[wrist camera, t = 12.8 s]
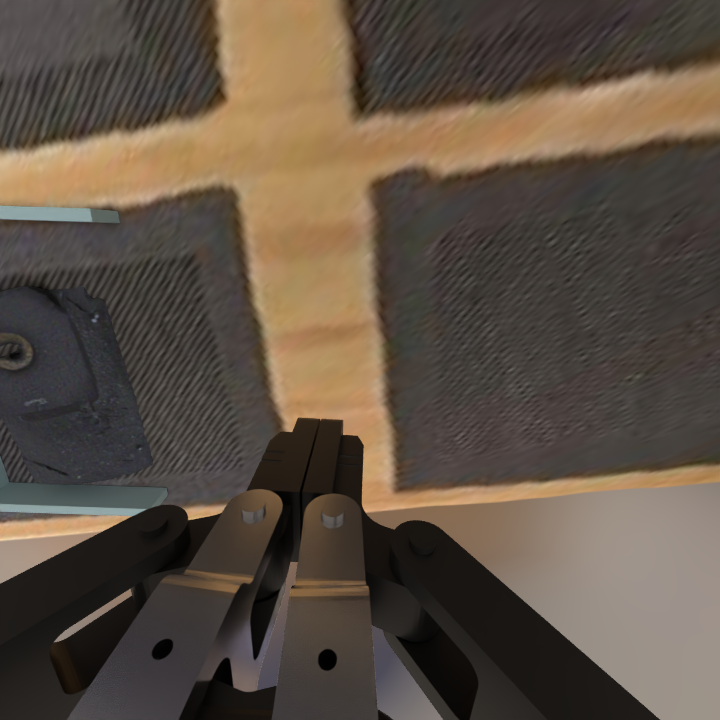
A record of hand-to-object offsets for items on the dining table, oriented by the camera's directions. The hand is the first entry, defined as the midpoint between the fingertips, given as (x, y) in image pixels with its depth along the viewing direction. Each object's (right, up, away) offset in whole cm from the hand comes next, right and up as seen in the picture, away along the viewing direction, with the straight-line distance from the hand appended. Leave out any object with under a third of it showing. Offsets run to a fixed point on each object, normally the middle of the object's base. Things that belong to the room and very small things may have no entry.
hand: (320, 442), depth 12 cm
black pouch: (-30, 0, +27) cm, 40 cm away
